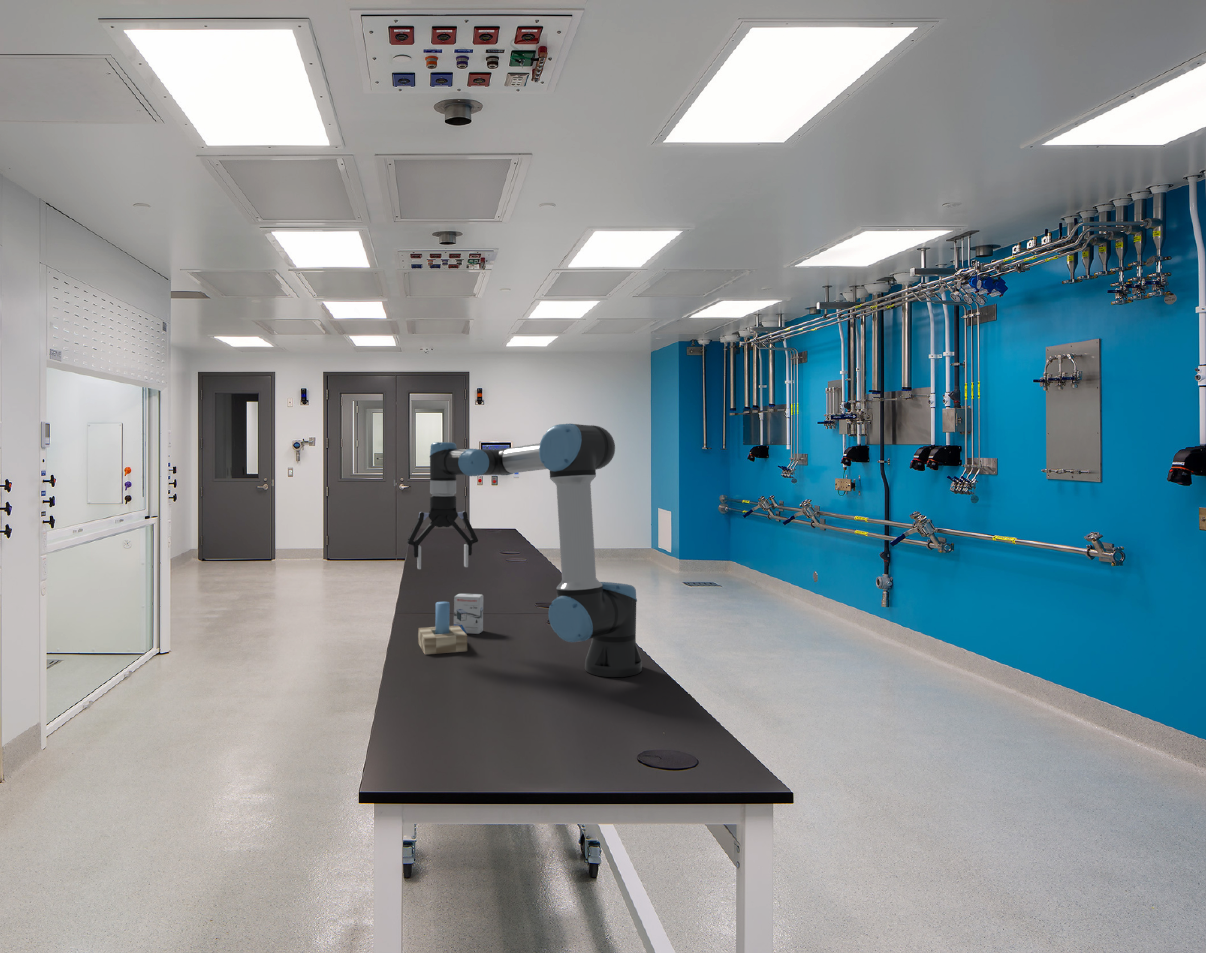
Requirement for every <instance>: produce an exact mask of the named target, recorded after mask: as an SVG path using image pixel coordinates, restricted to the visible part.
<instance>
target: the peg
mask: <svg viewBox="0 0 1206 953" xmlns="http://www.w3.org/2000/svg"><path fill="white" fill-rule="evenodd" d="M450 603H451V602H449V601H437V602H435V622H434V623H435V625H434V627H435V634H449V626H450V613H451V612H450V608H451V607H450Z"/></svg>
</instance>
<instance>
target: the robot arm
mask: <svg viewBox="0 0 1206 953" xmlns="http://www.w3.org/2000/svg"><path fill="white" fill-rule="evenodd" d="M539 442H540V443H539ZM539 442H538V443H534V444H533V443H532V444H527V445H526V444H525V445H520V446H513V447H507V448H506V447H505V448H501V449H484V448H483V449H480V448H479V449H478V448H464V449H463V448H462V449H461V448H460V449H459V448H458V447H457V444H456V443H455V442H452V441H451V442H450V441H449V442H448V441H447V442H446V441H444V442H443V441H442V442H440V441H438V442H435V441H434V442H432V443H431V444H430V449H429V450H430V451H429V478H430V479H429V494H431V496H430V497H429V512H423V511H419V512H418V518H417V520H416V523H415V524H414V525H413V526H414V527H413V528H412V531H411V533H410V535H409V537H408V538H407V540H406V543H407V544H408V545H411V546H413V557H414V558H416V560H417V561H416V562H417V563H416V565H417V566H416V567H417V570H422V546H421V545H420V544H421V543H422V542H423V540H425V538H426V537H427V536H428V535H429V534H430V532H432V530H433V529H434V528H435V527H436V528H443V527H445V528H449V527H452V528H453V529H454V530H455V531H456V532H457V533H458V535H459V536H460V537H461V539H463V540H464V541H465V544H463V567H464V568H469V556H472V554H473V552H472V551H473V545H474V544H476V543H478V542H479V539H478V536H477V535H476V533H475V531H474V529H473V527H472V524H471V522H470V520H469V519H468V518H469V517H468V512H467V511H465V510H462V511H459V512H458V511H457V497H456V494H457V476H468V477H479V476H508V475H509V476H510V475H513V474H516V473H524V472H533V471H542V470H549V480H550V481H551V482H553V484H555V487H556V497H557V498H556V499H557V501H556V502H557V516H558V531H559V532H558V533H559V547H560V548H559V549H560V550H559V551H560V552H559V553H560V569H561V581H560V583H558V585H557V586H556V588H555V589H556V598H554V600H552V601H551V604H549V607H548V621H549V624H550V626H551V628H552V631H553V632H554V633H555V634H557V636H558V637H559V639H561V640H563V641H565V642H568V643H577V642H585V641H587V640H590V639H591V642H590V646H589V648H588V652H587V655H586V657H585V659H584V660H585V661H584V670H585V671H586V672H587V673H589V674H591V675H594V676H598V677H605V678H606V677H607V678H624V677H631V676H635V675H638V674H640V673H641V672H642V670H643V662H642V661H643V660H642V657H641V654H640V651H639V648H638V645H637V642H636V641H637V640H636V638H637V635H636V634H637V633H636V632H637V602H638V600H637V590H636V587H635V586H634V585H631V584H627V583H619V582H610V581H600V580H598V579H597V571H596V557H595V556H596V555H595V538H594V536H595V535H594V522H593V521H594V520H593V508H592V507H593V505H592V488H591V486H592V485H591V483H592V482H593V480H594V479H595V478H596V476H597V471H596V470H600V469H603V468H605V467H606V466H608V465H609V463H611V462H612V460H613V458H614V456H615V452H616V444H615V443H616V442H615V439H614V438H613V436H612V434H611V433H610V432H609V431H608V430H607V429H605V428H604V427H601V426H599V425H594V424H591V425H588V424H579V423H578V424H577V423H559V424H555V425H553V426H551V427H550V428H548V429H547V431H546V432H545V434H543V436H542V437H541V439H540V441H539ZM458 517H459V518H460V519H461V520H462V522H463V524H464V526H465V527H466V530H467V532H468V534H469V535H470V538H471V539H470V538H469V536H467V534H466V533H465V532H464V531H463V530H462V529H461V527H460V526H459V525H458V523H457V522H456V519H457V518H458ZM427 518H428V519H429V520H430V522H429V524H427V526H426V527H425V528H424V529H423V531H422V532H421V533H420V535H418V536H417V534H418V532H419V531H420V529H421V527H422V524H423V523H424V520H425V521H426V519H427ZM416 536H417V538H416Z"/></svg>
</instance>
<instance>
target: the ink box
mask: <svg viewBox="0 0 1206 953" xmlns="http://www.w3.org/2000/svg"><path fill="white" fill-rule="evenodd" d="M453 598H454V599H453V602H454V603H453V604H454V605H453V626H456V625H459V627H460V628H461V629H462V630H463V631H464V632H465V634H476V635H479V634H480V633H482V632H483V631H484V595H483V594H482V593H481V594H480V593H458V594H455V595H454V597H453Z"/></svg>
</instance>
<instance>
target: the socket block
mask: <svg viewBox="0 0 1206 953" xmlns="http://www.w3.org/2000/svg"><path fill="white" fill-rule="evenodd" d="M417 632H418V633H417V638H418V639H417V644H418V645H419V647H420V649H421V651H422V652H423V653H424V655H435V654H437V655H438V654H446V653H447V654H448V653H449V654H450V653H459V652H468V635H467V633H465V632H464V631H463V630H462V629H461V628H460V627H459V625H456V626H454V625H449V634H435V626H430V627H429V626H428V627H418V630H417Z"/></svg>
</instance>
